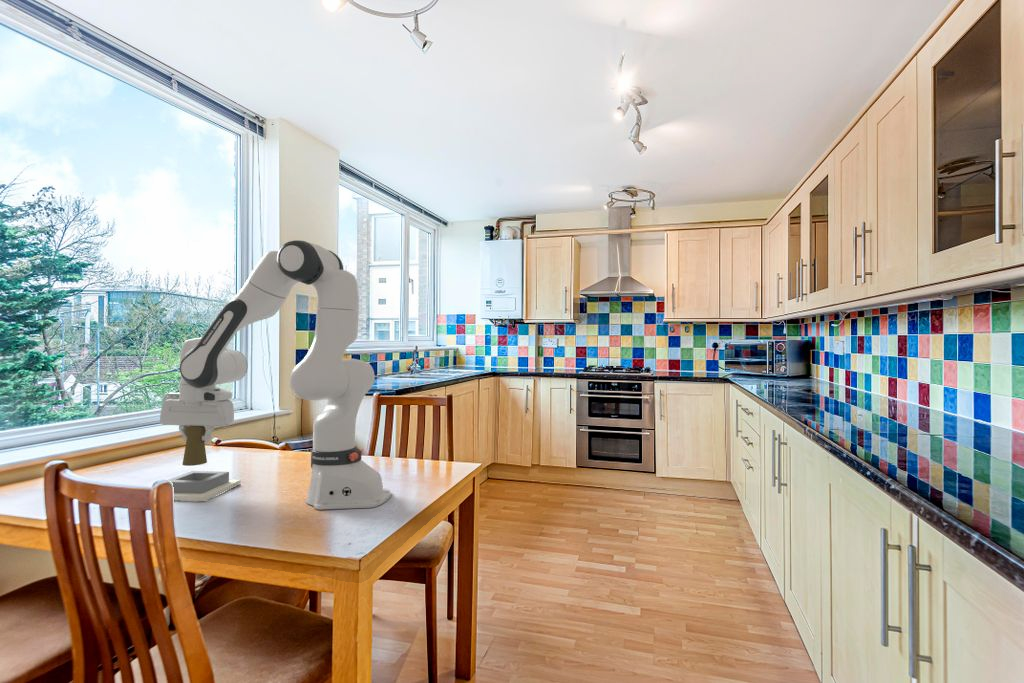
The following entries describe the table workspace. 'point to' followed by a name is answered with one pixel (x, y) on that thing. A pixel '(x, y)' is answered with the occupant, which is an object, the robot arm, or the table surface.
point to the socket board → (207, 494)
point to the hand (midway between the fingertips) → (196, 441)
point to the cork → (194, 446)
